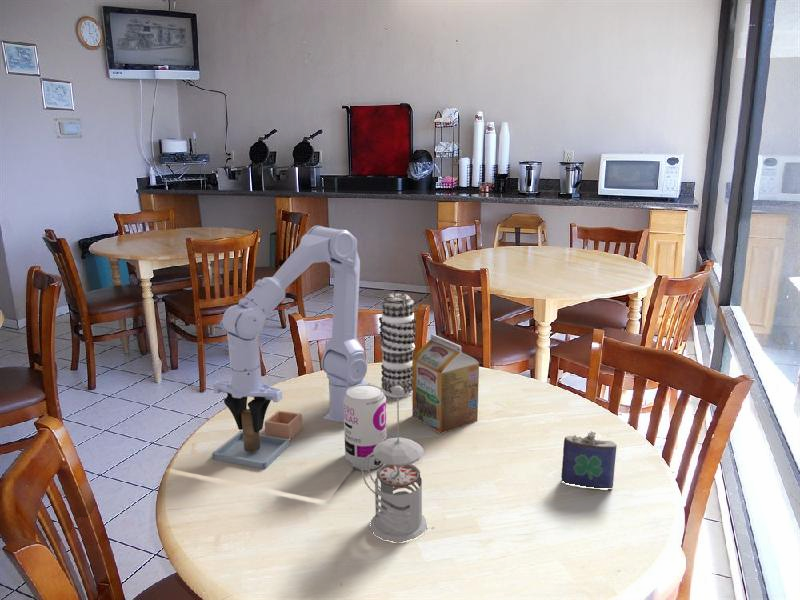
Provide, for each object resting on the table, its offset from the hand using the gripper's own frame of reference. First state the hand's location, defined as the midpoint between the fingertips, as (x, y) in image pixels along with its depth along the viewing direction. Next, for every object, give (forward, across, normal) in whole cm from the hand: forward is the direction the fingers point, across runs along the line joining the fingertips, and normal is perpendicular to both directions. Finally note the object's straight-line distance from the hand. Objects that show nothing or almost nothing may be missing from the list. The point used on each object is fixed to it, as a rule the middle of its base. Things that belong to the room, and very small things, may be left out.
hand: (250, 429), depth 123 cm
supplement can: (+6, +23, +5) cm, 24 cm away
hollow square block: (+6, +2, +10) cm, 11 cm away
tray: (+6, 0, 0) cm, 6 cm away
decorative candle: (+6, +18, +39) cm, 43 cm away
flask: (+6, +65, +10) cm, 66 cm away
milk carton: (+6, +33, +28) cm, 44 cm away
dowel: (+4, 0, 0) cm, 4 cm away
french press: (+6, +35, -12) cm, 37 cm away
